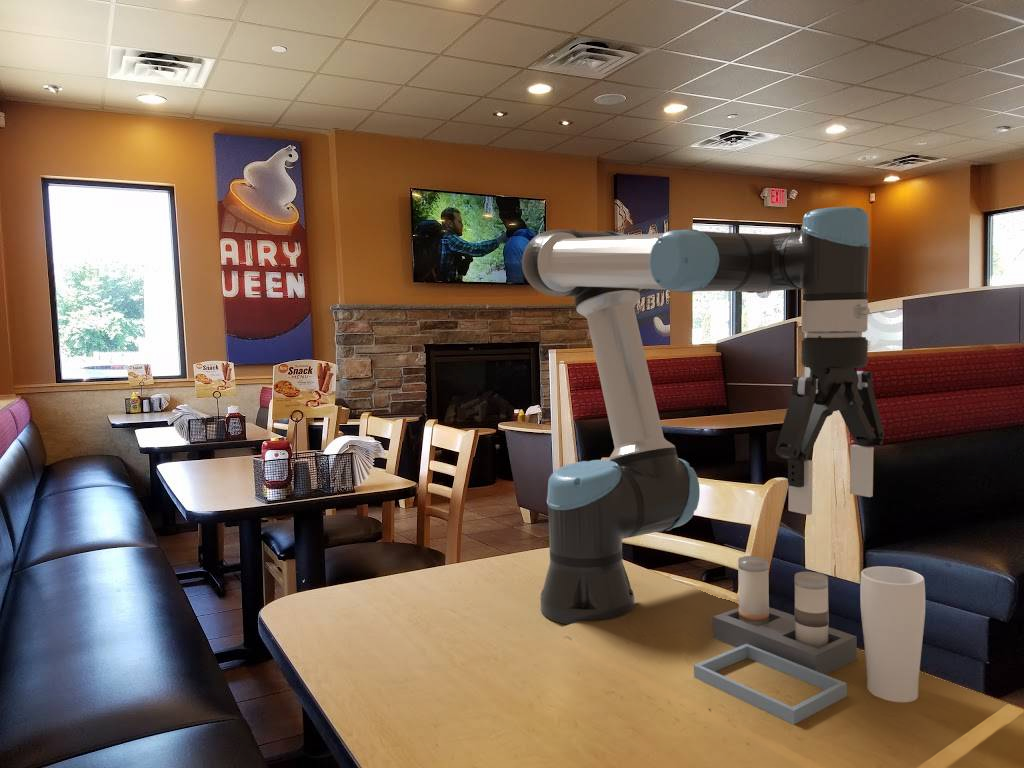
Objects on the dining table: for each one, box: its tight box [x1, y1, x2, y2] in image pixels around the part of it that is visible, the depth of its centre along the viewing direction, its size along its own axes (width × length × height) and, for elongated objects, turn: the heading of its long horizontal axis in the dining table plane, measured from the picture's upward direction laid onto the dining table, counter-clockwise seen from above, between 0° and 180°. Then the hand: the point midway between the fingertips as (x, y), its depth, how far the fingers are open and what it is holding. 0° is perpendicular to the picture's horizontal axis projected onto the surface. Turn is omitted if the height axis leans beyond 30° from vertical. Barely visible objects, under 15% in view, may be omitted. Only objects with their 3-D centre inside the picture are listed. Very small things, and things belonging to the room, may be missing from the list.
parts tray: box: [693, 644, 848, 725], centre depth 89 cm, size 14×10×2 cm
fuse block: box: [712, 606, 858, 675], centre depth 99 cm, size 16×9×4 cm, turn 34°
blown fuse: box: [794, 571, 830, 649], centre depth 95 cm, size 4×4×11 cm
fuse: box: [737, 555, 770, 627], centre depth 102 cm, size 4×4×11 cm
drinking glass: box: [859, 565, 926, 703], centre depth 86 cm, size 7×7×15 cm
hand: (831, 503), depth 92 cm, fingers open, 13 cm apart
